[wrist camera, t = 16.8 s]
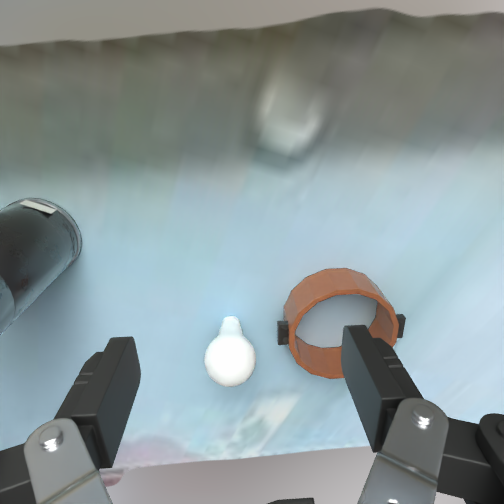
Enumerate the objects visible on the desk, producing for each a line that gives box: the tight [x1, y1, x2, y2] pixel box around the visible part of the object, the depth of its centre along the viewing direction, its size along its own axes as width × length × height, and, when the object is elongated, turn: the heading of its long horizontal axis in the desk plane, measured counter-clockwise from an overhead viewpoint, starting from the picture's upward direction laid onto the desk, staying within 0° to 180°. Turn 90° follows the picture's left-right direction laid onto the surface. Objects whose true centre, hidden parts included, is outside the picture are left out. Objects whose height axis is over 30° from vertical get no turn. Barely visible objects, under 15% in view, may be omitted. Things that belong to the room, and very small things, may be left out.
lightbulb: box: [204, 316, 256, 387], centre depth 44 cm, size 6×6×11 cm
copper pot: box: [277, 268, 406, 379], centre depth 47 cm, size 16×14×6 cm
